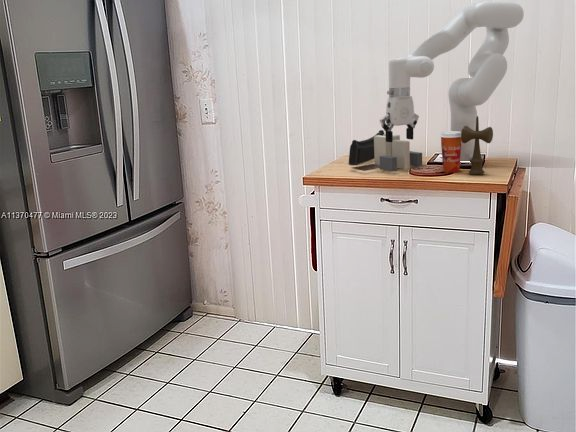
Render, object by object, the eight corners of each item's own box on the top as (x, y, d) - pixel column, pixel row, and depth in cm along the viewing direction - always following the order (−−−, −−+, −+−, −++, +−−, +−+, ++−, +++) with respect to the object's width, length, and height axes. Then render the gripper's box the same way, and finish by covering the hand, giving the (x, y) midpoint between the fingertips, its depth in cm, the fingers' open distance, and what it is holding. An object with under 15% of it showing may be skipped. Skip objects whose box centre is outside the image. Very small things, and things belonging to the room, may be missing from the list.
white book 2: (400, 163, 228) (399, 135, 225) (395, 164, 227) (394, 135, 224) (388, 161, 234) (388, 133, 231) (383, 162, 233) (383, 134, 230)
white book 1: (391, 165, 226) (390, 136, 223) (386, 166, 225) (385, 137, 222) (379, 163, 232) (378, 135, 229) (374, 164, 231) (373, 135, 228)
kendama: (466, 171, 212) (466, 114, 206) (493, 173, 206) (494, 115, 201) (459, 174, 207) (460, 116, 202) (487, 176, 201) (488, 117, 196)
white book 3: (409, 171, 219) (409, 141, 217) (404, 172, 218) (404, 142, 215) (397, 168, 225) (397, 139, 223) (392, 169, 224) (392, 140, 221)
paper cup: (438, 173, 212) (438, 134, 208) (441, 169, 219) (441, 131, 215) (461, 173, 209) (461, 133, 205) (463, 169, 216) (464, 130, 212)
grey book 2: (422, 168, 222) (422, 152, 221) (417, 169, 221) (417, 153, 220) (409, 166, 228) (409, 150, 227) (405, 167, 227) (404, 151, 225)
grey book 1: (397, 173, 217) (396, 157, 215) (392, 174, 216) (391, 158, 214) (385, 171, 223) (384, 155, 221) (379, 172, 221) (379, 156, 220)
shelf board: (401, 167, 228) (401, 164, 228) (364, 174, 220) (364, 170, 220) (386, 164, 236) (386, 161, 235) (350, 170, 228) (350, 167, 227)
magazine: (351, 146, 228) (384, 114, 248) (344, 145, 230) (377, 114, 250) (359, 185, 236) (390, 151, 256) (352, 184, 238) (383, 151, 258)
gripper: (387, 95, 207) (387, 144, 212) (424, 91, 215) (424, 139, 220) (373, 94, 214) (374, 142, 218) (411, 91, 222) (410, 137, 226)
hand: (399, 140), depth 219 cm, fingers open, 9 cm apart
